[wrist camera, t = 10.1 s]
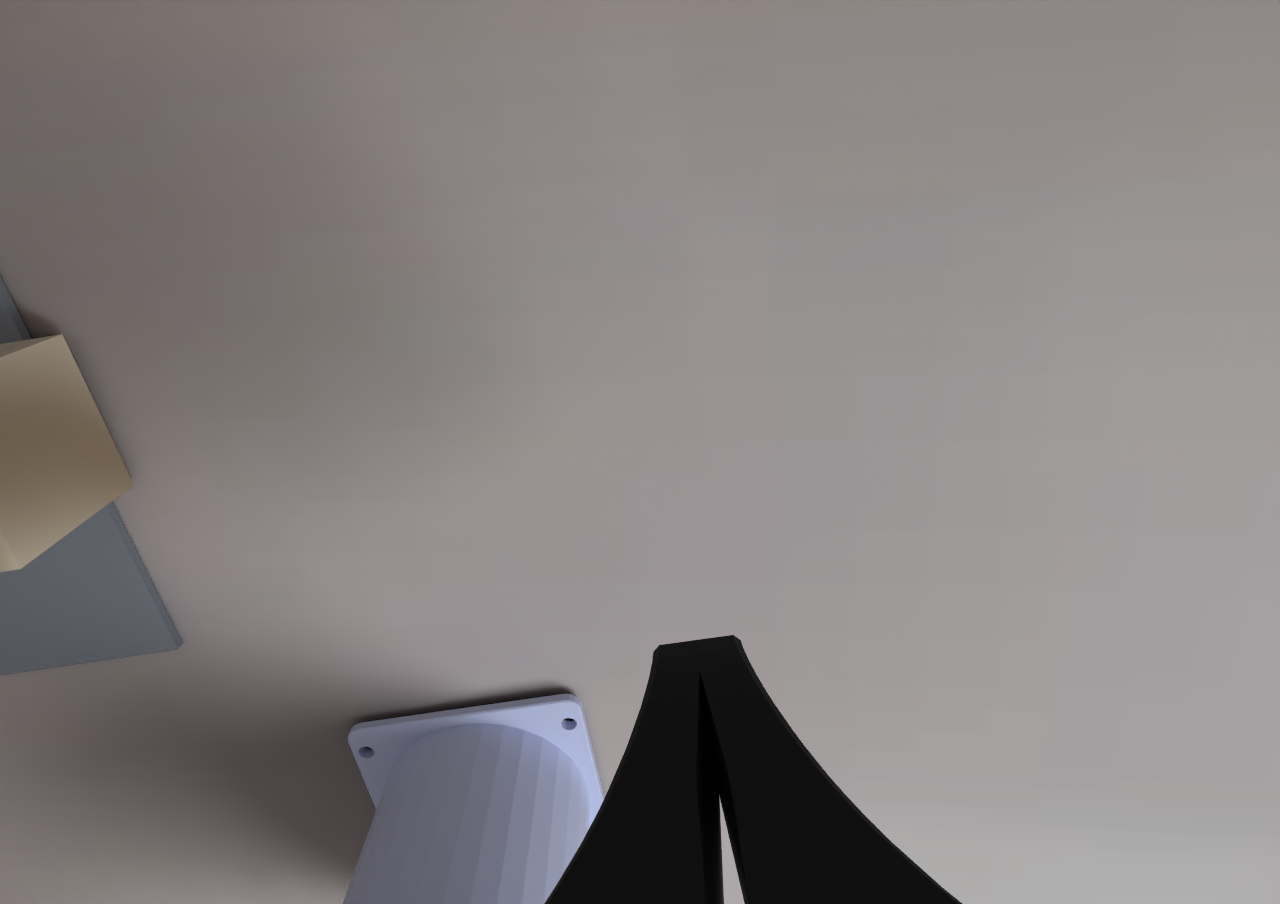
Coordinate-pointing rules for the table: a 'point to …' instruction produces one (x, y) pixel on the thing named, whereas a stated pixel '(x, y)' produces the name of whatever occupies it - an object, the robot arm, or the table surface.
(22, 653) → the mat
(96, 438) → the tall block
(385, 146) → the table surface
